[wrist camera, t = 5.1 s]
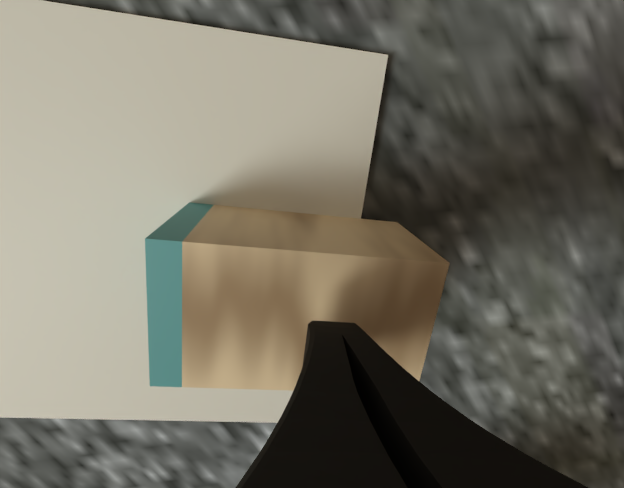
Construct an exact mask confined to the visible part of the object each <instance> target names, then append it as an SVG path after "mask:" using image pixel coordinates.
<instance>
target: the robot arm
mask: <svg viewBox="0 0 624 488" xmlns="http://www.w3.org/2000/svg"><path fill="white" fill-rule="evenodd" d="M236 488H588V487H586V486H584V485H582V484H580V483H578V482H576V481H574V480H572V479H571V478H569V477H567V476H565V475H563V474H561V473H559V472H557V471H555V470H553V469H551V468H550V467H548V466H546V465H544V464H542V463H541V462H539V461H537V460H535V459H533V458H532V457H530V456H528V455H526V454H524V453H523V452H521V451H519V450H518V449H516V448H514V447H513V446H511V445H509V444H508V443H506V442H505V441H503V440H501V439H500V438H498V437H496V436H495V435H493V434H491V433H490V432H488V431H487V430H485V429H484V428H482V427H480V426H479V425H477V424H476V423H474V422H473V421H471V420H470V419H468V418H467V417H466V416H464V415H463V414H461V413H460V412H459V411H457V410H456V409H454V408H453V407H451V406H450V405H449V404H447V403H446V402H444V401H443V400H442V399H441V398H439V397H438V396H437V395H435V394H434V393H433V392H431V391H430V390H429V389H428V388H427V387H425V386H424V385H423V384H422V383H420V382H419V381H418V380H417V379H416V378H414V377H413V376H412V375H411V374H410V373H409V372H407V371H406V370H405V369H404V368H403V367H402V366H401V365H399V364H398V363H397V362H396V361H395V360H394V359H393V358H392V357H391V356H390V355H389V354H387V353H386V352H385V351H384V350H383V349H382V348H381V347H380V346H379V345H378V344H377V343H376V342H375V341H374V340H373V339H372V338H371V337H370V336H369V335H368V334H367V333H366V332H365V331H364V330H362V329H361V328H360V327H359V326H358V325H357V324H356V323H349V322H331V321H311V322H310V323H309V324H308V328H307V336H306V343H305V351H304V359H303V366H302V370H301V373H300V375H299V378H298V381H297V383H296V386H295V388H294V391H293V393H292V395H291V397H290V400H289V402H288V404H287V406H286V408H285V410H284V412H283V414H282V416H281V418H280V419H279V421H278V423H277V425H276V426H275V428H274V430H273V432H272V434H271V435H270V437H269V439H268V440H267V442H266V444H265V445H264V447H263V448H262V450H261V452H260V453H259V455H258V456H257V458H256V459H255V460H254V462H253V463H252V465H251V466H250V468H249V469H248V471H247V472H246V474H245V475H244V476H243V478H242V479H241V481H240V482H239V484H238V485H237V487H236Z"/></svg>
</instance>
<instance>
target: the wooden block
mask: <svg viewBox="0 0 624 488" xmlns="http://www.w3.org/2000/svg"><path fill="white" fill-rule="evenodd" d="M145 256H146V287H147V318H148V349H149V379H150V386H158V387H191V388H224V389H257V390H291V391H294V388H295V386H296V383H297V381H298V378H299V375H300V373H301V370H302V366H303V359H304V351H305V343H306V336H307V328H308V324H309V323H310V322H311V321H331V322H349V323H356V324H357V325H358V326H359V327H360V328H361V329H362V330H364V331H365V332H366V333H367V334H368V335H369V336H370V337H371V338H372V339H373V340H374V341H375V342H376V343H377V344H378V345H379V346H380V347H381V348H382V349H383V350H384V351H385V352H386V353H387V354H389V355H390V356H391V357H392V358H393V359H394V360H395V361H396V362H397V363H398V364H399V365H401V366H402V367H403V368H404V369H405V370H406V371H407V372H409V373H410V374H411V375H412V376H413V377H414V378H416V379H417V380H418V381H419V380H420V376H421V372H422V368H423V365H424V361H425V357H426V353H427V349H428V345H429V341H430V337H431V334H432V330H433V326H434V322H435V318H436V314H437V310H438V306H439V302H440V299H441V295H442V291H443V287H444V283H445V279H446V275H447V271H448V268H449V264H450V263H449V262H447V261H446V260H445V259H444V258H442V257H441V256H440V255H438V254H437V253H436V252H435V251H433V250H432V249H431V248H430V247H428V246H427V245H426V244H424V243H423V242H422V241H421V240H419V239H418V238H417V237H415V236H414V235H413V234H412V233H410V232H409V231H408V230H406V229H405V228H404V227H403V226H401V225H400V224H399V223H398V222H391V221H380V220H369V219H359V218H348V217H338V216H327V215H317V214H306V213H296V212H285V211H274V210H264V209H253V208H243V207H232V206H222V205H211V204H201V203H190V202H189V203H188V204H187V205H186V206H184V207H183V208H182V209H181V210H179V211H178V212H177V213H176V214H174V215H173V216H172V217H171V218H170V219H168V220H167V221H166V222H165V223H163V224H162V225H161V226H160V227H159V228H157V229H156V230H155V231H154V232H152V233H151V234H150V235H149V236H147V237H146V238H145Z"/></svg>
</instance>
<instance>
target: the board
mask: <svg viewBox="0 0 624 488" xmlns="http://www.w3.org/2000/svg"><path fill="white" fill-rule="evenodd" d="M387 59H388V55H386V54H380V53H373V52H367V51H361V50H354V49H348V48H342V47H335V46H329V45H322V44H316V43H310V42H303V41H297V40H291V39H284V38H278V37H272V36H265V35H259V34H253V33H246V32H240V31H234V30H227V29H221V28H215V27H208V26H202V25H196V24H189V23H183V22H177V21H170V20H164V19H158V18H151V17H145V16H138V15H132V14H126V13H119V12H113V11H107V10H100V9H94V8H88V7H81V6H75V5H69V4H62V3H56V2H50V1H43V0H0V417H8V418H61V419H115V420H168V421H222V422H275V423H278V421H279V419H280V418H281V416H282V414H283V412H284V410H285V408H286V406H287V404H288V402H289V400H290V397H291V395H292V393H293V391H291V390H257V389H224V388H191V387H158V386H150V379H149V349H148V318H147V287H146V256H145V238H146V237H147V236H149V235H150V234H151V233H152V232H154V231H155V230H156V229H157V228H159V227H160V226H161V225H162V224H163V223H165V222H166V221H167V220H168V219H170V218H171V217H172V216H173V215H174V214H176V213H177V212H178V211H179V210H181V209H182V208H183V207H184V206H186V205H187V204H188V203H189V202H190V203H201V204H211V205H222V206H232V207H243V208H253V209H264V210H274V211H285V212H296V213H306V214H317V215H327V216H338V217H348V218H359V219H361V215H362V209H363V203H364V197H365V191H366V185H367V179H368V173H369V167H370V161H371V155H372V149H373V143H374V137H375V131H376V125H377V119H378V113H379V107H380V101H381V95H382V89H383V83H384V77H385V71H386V65H387Z"/></svg>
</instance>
